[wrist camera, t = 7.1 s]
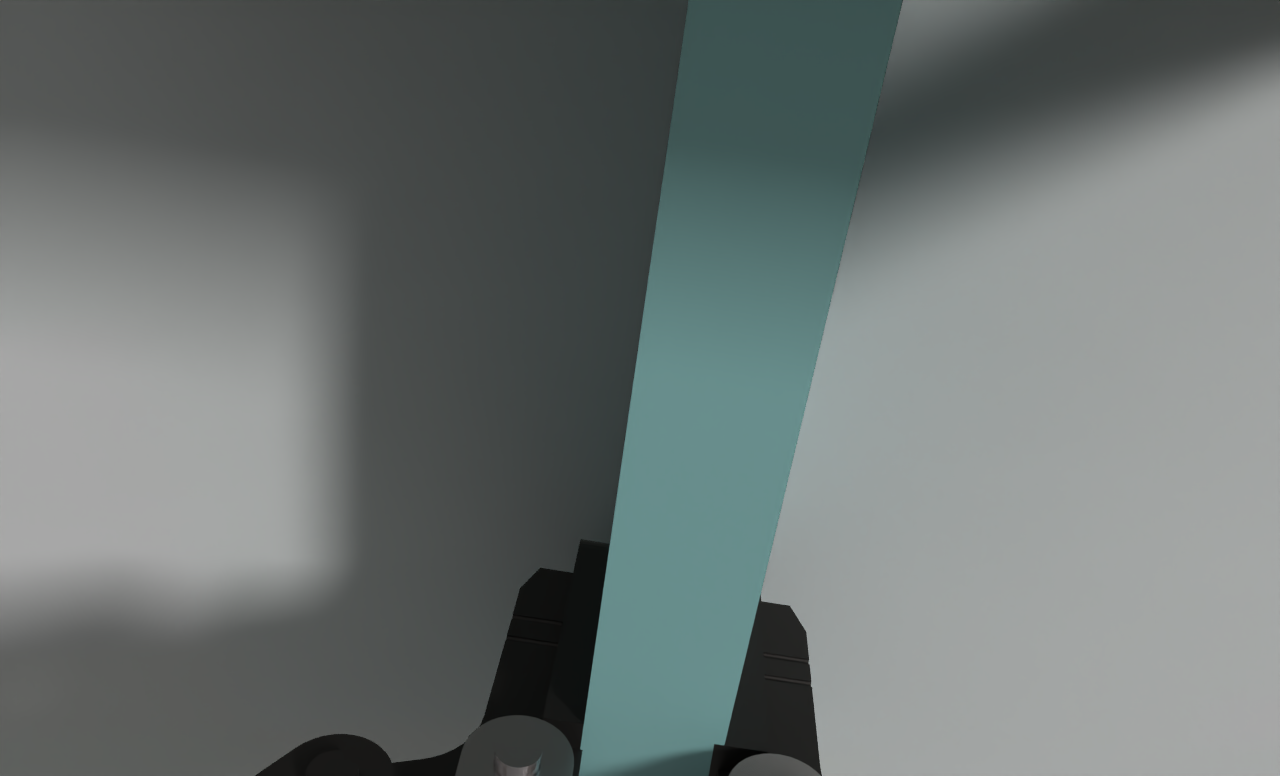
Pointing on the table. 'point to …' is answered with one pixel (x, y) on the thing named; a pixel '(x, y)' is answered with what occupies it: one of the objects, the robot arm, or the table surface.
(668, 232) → the long teal stick
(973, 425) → the table surface
